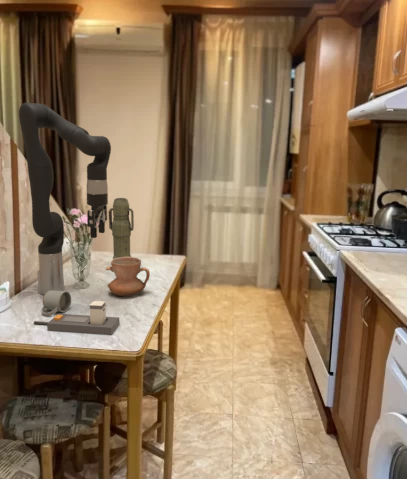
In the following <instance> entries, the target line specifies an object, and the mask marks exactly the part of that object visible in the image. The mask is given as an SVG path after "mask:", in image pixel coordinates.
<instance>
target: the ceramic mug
mask: <svg viewBox="0 0 407 479" xmlns="http://www.w3.org/2000/svg"><path fill="white" fill-rule="evenodd" d="M71 304H72V296H71V293H70V292H69V291H68V290H64V291H53V290H52V291H48V292H46V293H45V295H43V298H42V307H41V311H40V312H41V314H42V315H43V316H45V317H50V316H54V315H55V314H56V313H57V312H59V313H66V312H67V311H68V310H70V307H71ZM45 310H49V312H45Z"/></svg>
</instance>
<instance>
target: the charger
mask: <svg viewBox="0 0 407 479" xmlns="http://www.w3.org/2000/svg"><path fill="white" fill-rule="evenodd" d="M106 303H107V302H106V301H99V300H93V301H92V302H91V303H90V304H89V316H90V324H95V325H104V324H105V323H106V317H107V316H106V312H107V311H106Z"/></svg>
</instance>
